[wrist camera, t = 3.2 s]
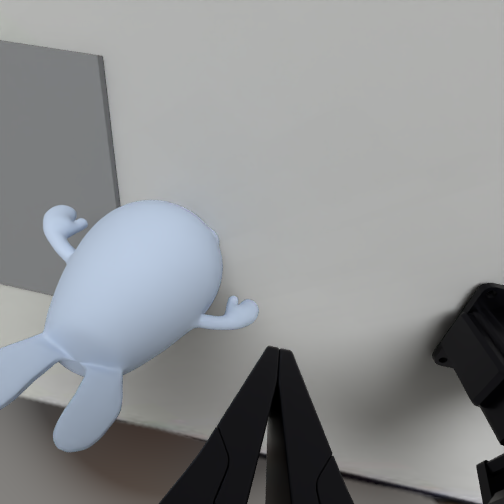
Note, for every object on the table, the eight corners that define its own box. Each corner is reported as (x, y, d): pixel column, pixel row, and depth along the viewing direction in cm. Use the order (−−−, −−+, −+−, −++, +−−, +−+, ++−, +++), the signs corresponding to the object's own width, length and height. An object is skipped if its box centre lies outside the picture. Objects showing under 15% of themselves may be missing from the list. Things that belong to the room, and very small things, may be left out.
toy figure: (100, 224, 18) (-168, 401, 8) (121, 132, 15) (-283, 228, 5) (245, 299, 19) (176, 540, 9) (293, 228, 16) (272, 475, 6)
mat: (102, 56, 13) (97, 55, 13) (132, 309, 22) (129, 312, 21) (-123, 21, 14) (-134, 19, 14) (-12, 277, 22) (-16, 280, 22)
